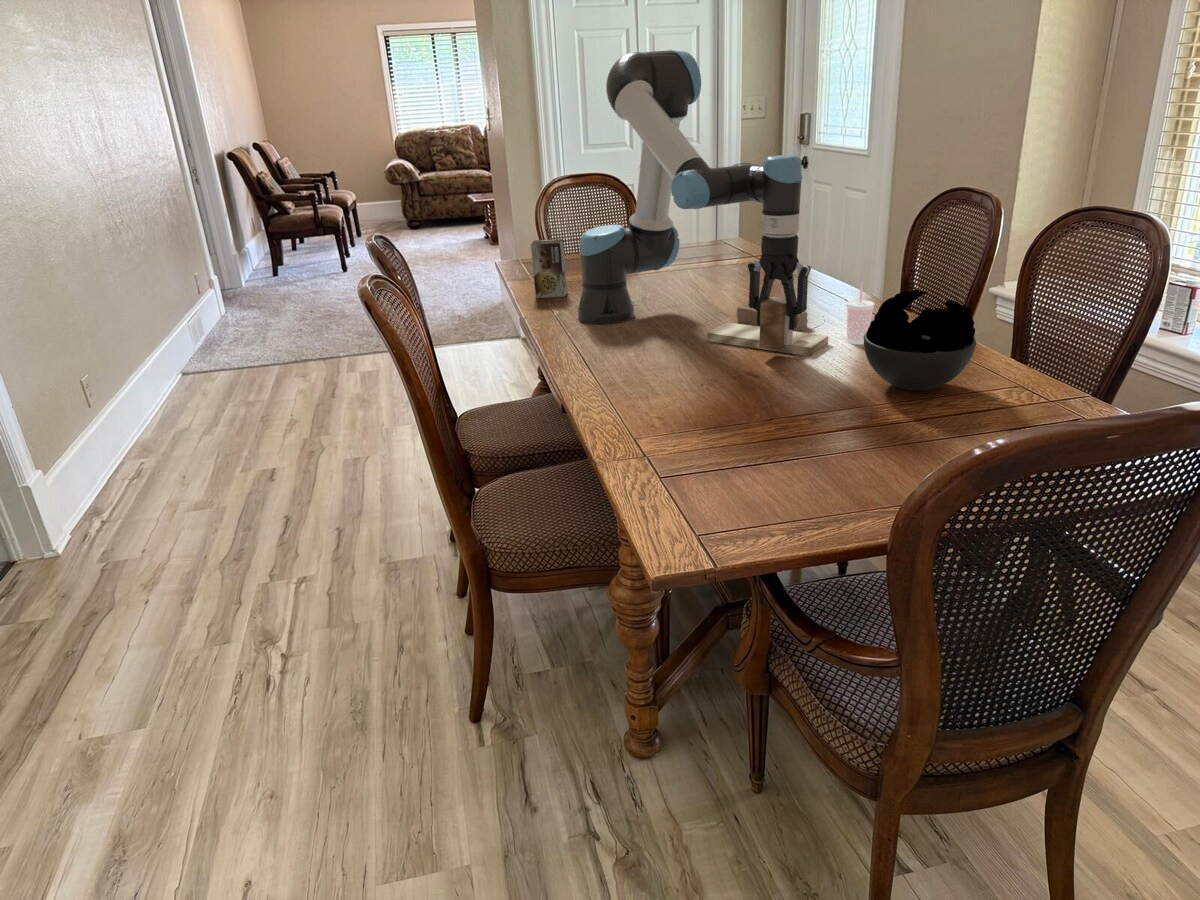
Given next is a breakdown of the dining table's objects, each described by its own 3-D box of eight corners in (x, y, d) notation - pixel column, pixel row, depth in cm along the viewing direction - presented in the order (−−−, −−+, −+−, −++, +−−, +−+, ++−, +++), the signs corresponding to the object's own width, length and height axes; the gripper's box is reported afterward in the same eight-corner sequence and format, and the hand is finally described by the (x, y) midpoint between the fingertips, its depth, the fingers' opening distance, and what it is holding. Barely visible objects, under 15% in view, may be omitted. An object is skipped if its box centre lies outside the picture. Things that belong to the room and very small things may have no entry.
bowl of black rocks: (848, 372, 166) (855, 282, 158) (946, 368, 165) (958, 277, 157) (875, 408, 148) (885, 308, 140) (986, 404, 147) (1002, 303, 139)
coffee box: (567, 292, 244) (564, 238, 238) (564, 297, 239) (561, 242, 232) (538, 293, 245) (533, 239, 239) (534, 298, 240) (530, 243, 233)
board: (707, 340, 191) (707, 332, 190) (727, 330, 198) (727, 322, 198) (810, 356, 177) (810, 347, 176) (827, 344, 184) (828, 335, 183)
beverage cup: (851, 336, 189) (856, 276, 183) (876, 340, 185) (881, 280, 179) (838, 342, 185) (842, 282, 179) (862, 347, 181) (867, 285, 175)
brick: (808, 328, 198) (809, 309, 196) (787, 335, 193) (788, 316, 191) (756, 317, 209) (756, 299, 207) (735, 324, 204) (735, 306, 203)
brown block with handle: (759, 347, 176) (760, 302, 172) (784, 332, 185) (786, 289, 181) (780, 350, 173) (782, 305, 169) (805, 335, 183) (807, 291, 178)
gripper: (732, 234, 169) (731, 341, 179) (814, 240, 159) (807, 352, 169) (749, 229, 175) (746, 332, 184) (828, 233, 164) (821, 342, 174)
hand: (775, 341), depth 176 cm, fingers closed on brown block with handle, 5 cm apart
